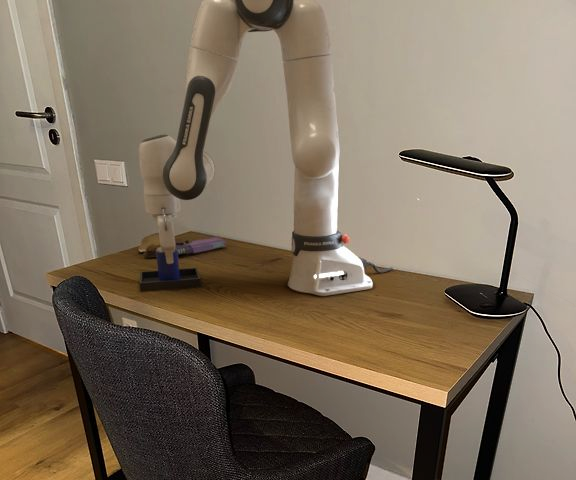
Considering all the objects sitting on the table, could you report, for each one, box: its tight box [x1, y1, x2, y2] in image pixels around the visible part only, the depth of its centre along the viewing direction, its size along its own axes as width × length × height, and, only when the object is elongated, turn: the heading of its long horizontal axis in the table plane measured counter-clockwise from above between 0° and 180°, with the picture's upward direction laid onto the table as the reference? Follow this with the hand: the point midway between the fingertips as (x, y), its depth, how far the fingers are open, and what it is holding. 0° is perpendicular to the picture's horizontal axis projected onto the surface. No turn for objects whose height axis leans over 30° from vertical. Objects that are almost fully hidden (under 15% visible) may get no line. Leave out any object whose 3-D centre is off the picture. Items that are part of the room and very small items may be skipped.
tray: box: [139, 267, 202, 292], centre depth 155 cm, size 16×10×2 cm, turn 103°
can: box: [155, 247, 180, 281], centre depth 154 cm, size 6×6×9 cm
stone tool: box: [137, 232, 161, 259], centre depth 187 cm, size 12×4×25 cm
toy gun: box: [175, 236, 226, 256], centre depth 184 cm, size 4×20×10 cm
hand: (169, 258), depth 153 cm, fingers open, 8 cm apart
